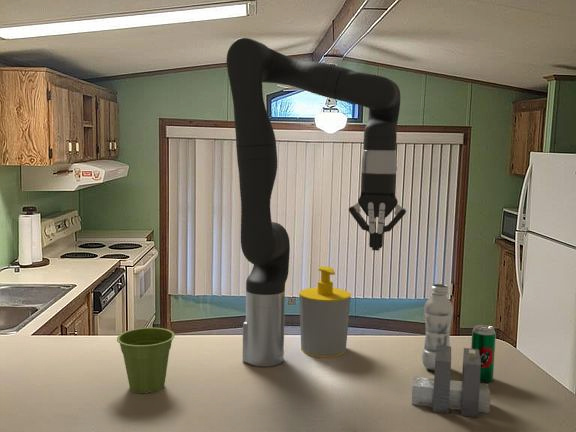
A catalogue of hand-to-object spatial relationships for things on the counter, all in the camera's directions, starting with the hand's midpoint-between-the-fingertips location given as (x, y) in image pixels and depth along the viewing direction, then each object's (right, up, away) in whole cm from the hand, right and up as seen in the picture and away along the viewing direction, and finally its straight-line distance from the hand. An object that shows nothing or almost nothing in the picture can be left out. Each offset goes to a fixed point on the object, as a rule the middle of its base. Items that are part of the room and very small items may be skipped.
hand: (376, 249), depth 133 cm
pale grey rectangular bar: (+13, -31, -10) cm, 35 cm away
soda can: (+24, -30, +3) cm, 38 cm away
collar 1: (+12, -31, -10) cm, 34 cm away
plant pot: (-49, -29, -5) cm, 58 cm away
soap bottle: (-10, -27, +21) cm, 35 cm away
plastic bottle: (+15, -29, +9) cm, 34 cm away
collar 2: (+17, -31, -12) cm, 37 cm away
